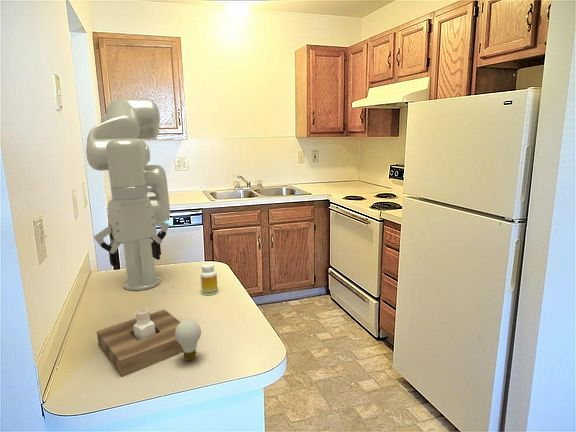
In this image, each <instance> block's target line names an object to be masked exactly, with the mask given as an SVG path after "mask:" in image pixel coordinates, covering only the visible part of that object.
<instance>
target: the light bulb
mask: <svg viewBox="0 0 576 432" xmlns="http://www.w3.org/2000/svg"><path fill="white" fill-rule="evenodd" d="M180 322H181V323H180V324H179V325H178V326H177V328H176V331H175V337H176V340H177V341H178V342H179V344H180V345H181V346H182V349H183V351H184V352H183V356H184V359H185V360H188V361H192V360H194V359H195V358H196V357H197V352H196V351H197V349H196V348H197V346H198V345H197V344H198V341H199V340H200V338H201V336H202V329H201V326H200V324H199V323H198V322H197V321H195V320H194V319H184V320H182V321H180Z"/></svg>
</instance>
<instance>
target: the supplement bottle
mask: <svg viewBox="0 0 576 432" xmlns="http://www.w3.org/2000/svg"><path fill="white" fill-rule="evenodd" d="M199 275H200V276H199V277H200V287H201V288H200V289H201V295H204V296H213V295H216V294H218V291H219V290H218V274H217V271H216V270H215V265H214V264H213V263H204V264H202V265H201V272H200V273H199Z"/></svg>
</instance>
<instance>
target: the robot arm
mask: <svg viewBox="0 0 576 432" xmlns="http://www.w3.org/2000/svg"><path fill="white" fill-rule="evenodd" d="M160 122H161V117H160V110H159V108H158V105H157V103H156V102H155V101H154V100H152V99H150V98H130V97H129V98H116V99H114V100H112V101H110V102H109V103H108V105H107V107H106V113H105V114H104V115H102V117H101V118H100V123H99V124H97V125H95V126H94V127H93V128H91V129H90V130H89V132H88V135H87V138H86V147H85V148H86V149H85V153H86V154H85V155H86V161H87V163H88V164H89V166H90V167H91V168H92V169H93V170H95V171H98V172H99V171H100V172H101V171H108V175H109V186H110V192H111V193H110V194H111V199H110V200H108V202H107V203H108V204H107V227H105V228H104V229H102V230H101V231H100V232H98V233H97V234H94V236H93V239H94V241H96V243H97V244H98V245H99V246H100V247H101V248H102V249H104V250H105V251H106V252H108V255H109V256H108V257H109V263H110V265H111V266H112V267H113V268H114V269H115V270H120V269H121V264H120V257H119V252H117V250H118V249H119V247H120V245H123V254H124V260H125V261H124V262H125V269H126V276H127V277H126V278H127V280H125V281H124V282H123V284H122V285H123V289H125V290H127V291H143V290H148V289H151V288H154V287H156V286H158V285H159V284H160V283H161V277H160V276H158V275H156V269H155V260H160V259H161V255H162V250H161V243H162V242H163V239H164V238H165V237H166V236H167V232H168V230H169V226H170V224H169V223H166V222H167V221H168V220H170V216H171V208H170V197H169V189H168V187H169V186H168V180H167V175H166V171H165V169H164V167H162V165H159V164H148V163H149V162H150V161H151V151H150V147H149V145H148V144H147V143H146V142H145V141H144V140H152V139H156V138H157V137H158V136H159V133H160V124H161V123H160ZM149 193H150V194H151V193H153V194H154V195H153V196H148V194H149ZM157 226H158V227H160V231H159V232H158V233H157ZM107 236H108V237H109V239H110V242H109V243H108V244H107V243H106V242H105V240H104V238H106V237H107Z"/></svg>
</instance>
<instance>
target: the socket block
mask: <svg viewBox="0 0 576 432" xmlns="http://www.w3.org/2000/svg"><path fill="white" fill-rule="evenodd" d="M150 320H151V321H152V322H154V324H155V333H156V334H154V335H151V336H148V337H145V338H143V339H140V340H136V339H135V336H134V328H133V326H134V324H136V323H137V320H136V318H133V319H130V320H126V321H124V322H121V323H118V324H114V325H111V326H108V327H105V328H103V329H99V330H96V336H97V344H98V346H99V348H100V349H101V350H102V352H103V353H104V355H105V356H106V358H107V359H108V361H110V363H111V365H112V366H113V367H114V368H115V370H116V371H117V373H118V374H119V375H120V377H124V376H126V375H129V374H132V373H134V372H137V371H139V370H141V369H144V368H146V367H149V366H152V365H154V364H156V363H159V362H161V361H164V360H167V359H169V358H171V357H174V356H176V355H178V354H182V353H184V351H183V349H182V346H181V345H180V344H179V342H178V341H177V340H176V337H175V331H176V328H177V326H178V325H179V324H180V323H181V322H182V321H180V320H178V319H177V318H176V317H175V316H174V315H172V314H171V313H169V311H168V310H166V309H161V310H157V311H154V312H151V313H150Z"/></svg>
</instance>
